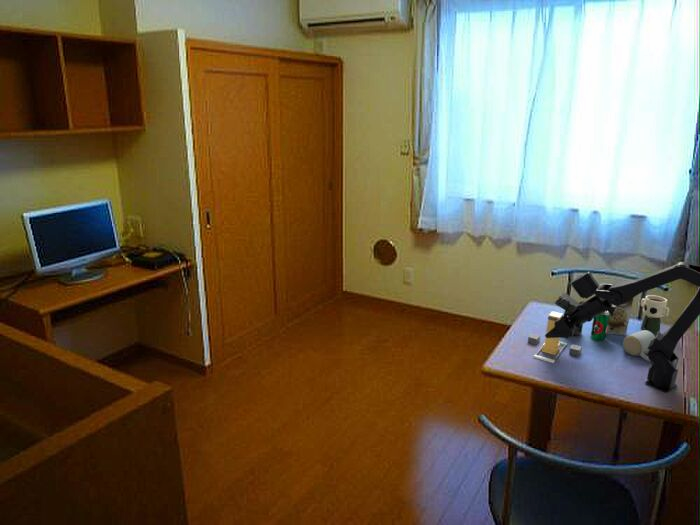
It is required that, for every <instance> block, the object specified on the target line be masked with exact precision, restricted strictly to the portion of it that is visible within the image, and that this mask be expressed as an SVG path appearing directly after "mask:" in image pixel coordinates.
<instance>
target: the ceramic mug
mask: <svg viewBox="0 0 700 525" xmlns="http://www.w3.org/2000/svg"><path fill="white" fill-rule="evenodd" d="M655 337H656V335H655V334H654V333H651V332H649V331H647V330H646V329H644V330H642V329H641V330H639V331H637V332H633V333H631V334H628V335H626V337H625V338H623V341H622V346H623V348H624V351H625V352H626V353H627V354H629V355H630V356H633V357H639V356H640V357H641V358H642V359H643V360H645V361H647V362H649V363H652V362H651V361H650V359H649V358H648V351H649V349H648V346H649V344H650V342H651V340H653V339H654V338H655Z"/></svg>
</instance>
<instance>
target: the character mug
mask: <svg viewBox="0 0 700 525" xmlns="http://www.w3.org/2000/svg"><path fill="white" fill-rule="evenodd" d="M667 304H668V299H667V298H665V297H662V296H660V295H655V294H651V295H646V296H645V298H642V299H641V301H640V306H641V307H642V312H643V314H644V317H643V320H642V322H641V326H640V330H641V331H642V330H647V331H649V332H651V333H652V334H657V333H658V332H660V333H661V318H663V317H664V316H665V317H668V316H669V314H670V308H669V307H667Z"/></svg>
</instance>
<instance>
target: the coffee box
mask: <svg viewBox="0 0 700 525" xmlns="http://www.w3.org/2000/svg"><path fill="white" fill-rule="evenodd" d="M633 302H634V298H632V299H631V300H629V301H627V302H625V303H624V304H622V305H619V306H617V307H616V310H615V313H614V315H613V316H611V315H610V320H609V325H608V331H607V335H617V336H627V332H628V327H629V322H630V318H631V312H632V306H633Z"/></svg>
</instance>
